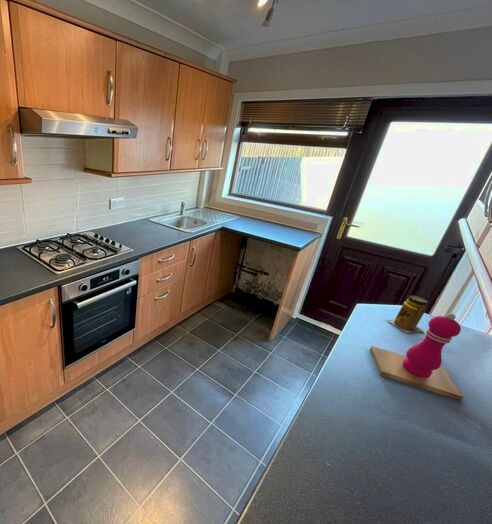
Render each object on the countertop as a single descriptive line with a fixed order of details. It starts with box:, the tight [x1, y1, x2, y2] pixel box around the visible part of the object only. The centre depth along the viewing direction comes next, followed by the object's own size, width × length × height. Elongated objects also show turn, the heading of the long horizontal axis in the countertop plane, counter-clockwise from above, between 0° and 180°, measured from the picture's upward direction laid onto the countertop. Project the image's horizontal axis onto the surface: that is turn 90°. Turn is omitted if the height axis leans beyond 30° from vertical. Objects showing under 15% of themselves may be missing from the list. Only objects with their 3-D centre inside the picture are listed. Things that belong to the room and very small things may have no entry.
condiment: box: [387, 295, 429, 334], centre depth 102 cm, size 7×8×12 cm
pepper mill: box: [402, 312, 462, 378], centre depth 78 cm, size 7×7×20 cm
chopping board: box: [369, 345, 464, 401], centre depth 83 cm, size 18×12×2 cm, turn 65°
